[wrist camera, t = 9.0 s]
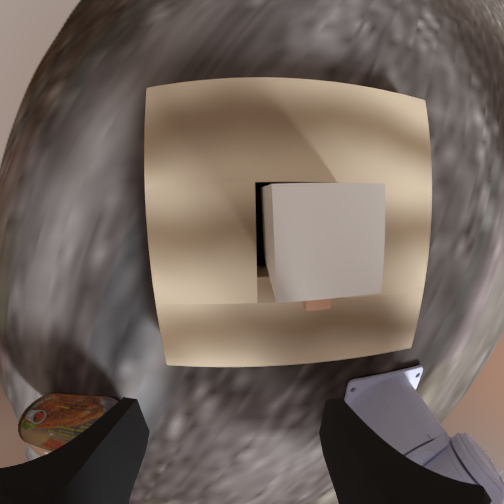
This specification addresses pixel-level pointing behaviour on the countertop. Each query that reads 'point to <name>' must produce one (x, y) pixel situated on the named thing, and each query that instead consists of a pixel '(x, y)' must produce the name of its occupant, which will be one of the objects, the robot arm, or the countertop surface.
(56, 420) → the tin
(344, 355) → the socket plate
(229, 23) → the countertop surface
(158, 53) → the countertop surface
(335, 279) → the keyed peg
